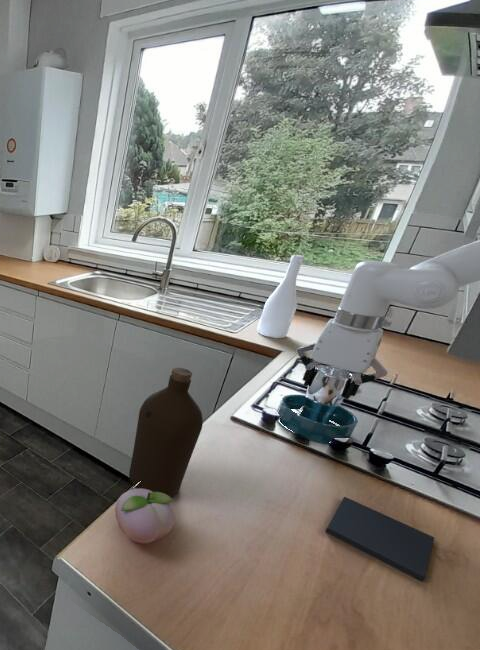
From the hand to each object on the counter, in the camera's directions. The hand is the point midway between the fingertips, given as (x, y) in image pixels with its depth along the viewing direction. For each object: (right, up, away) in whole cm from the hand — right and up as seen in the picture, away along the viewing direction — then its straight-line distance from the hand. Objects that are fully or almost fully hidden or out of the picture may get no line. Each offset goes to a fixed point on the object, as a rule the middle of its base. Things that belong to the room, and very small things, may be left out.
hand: (326, 389), depth 96 cm
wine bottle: (+32, +16, +61) cm, 71 cm away
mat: (-14, -23, -25) cm, 37 cm away
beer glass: (0, -9, +4) cm, 10 cm away
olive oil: (-47, -17, -14) cm, 52 cm away
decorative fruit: (-56, -23, -26) cm, 66 cm away
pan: (0, -10, +4) cm, 10 cm away
